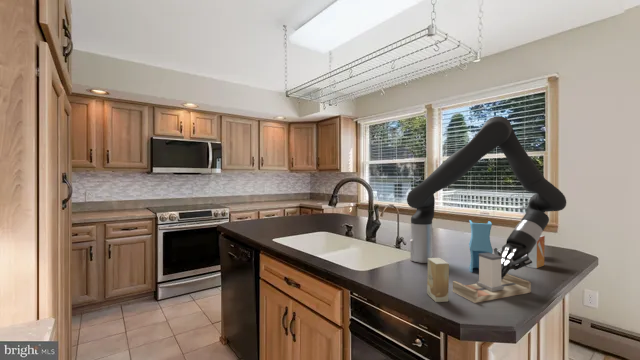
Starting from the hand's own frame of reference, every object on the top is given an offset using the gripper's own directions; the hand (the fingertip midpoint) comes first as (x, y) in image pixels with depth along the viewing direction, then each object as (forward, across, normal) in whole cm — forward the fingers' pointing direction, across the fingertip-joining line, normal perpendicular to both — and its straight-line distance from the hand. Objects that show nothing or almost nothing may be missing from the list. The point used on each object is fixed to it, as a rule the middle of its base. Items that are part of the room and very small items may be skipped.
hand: (498, 275), depth 97 cm
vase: (-5, +19, -13) cm, 23 cm away
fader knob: (+5, +1, -1) cm, 5 cm away
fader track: (+5, +1, -3) cm, 6 cm away
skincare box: (+20, +3, +11) cm, 23 cm away
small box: (-24, +16, -32) cm, 43 cm away
